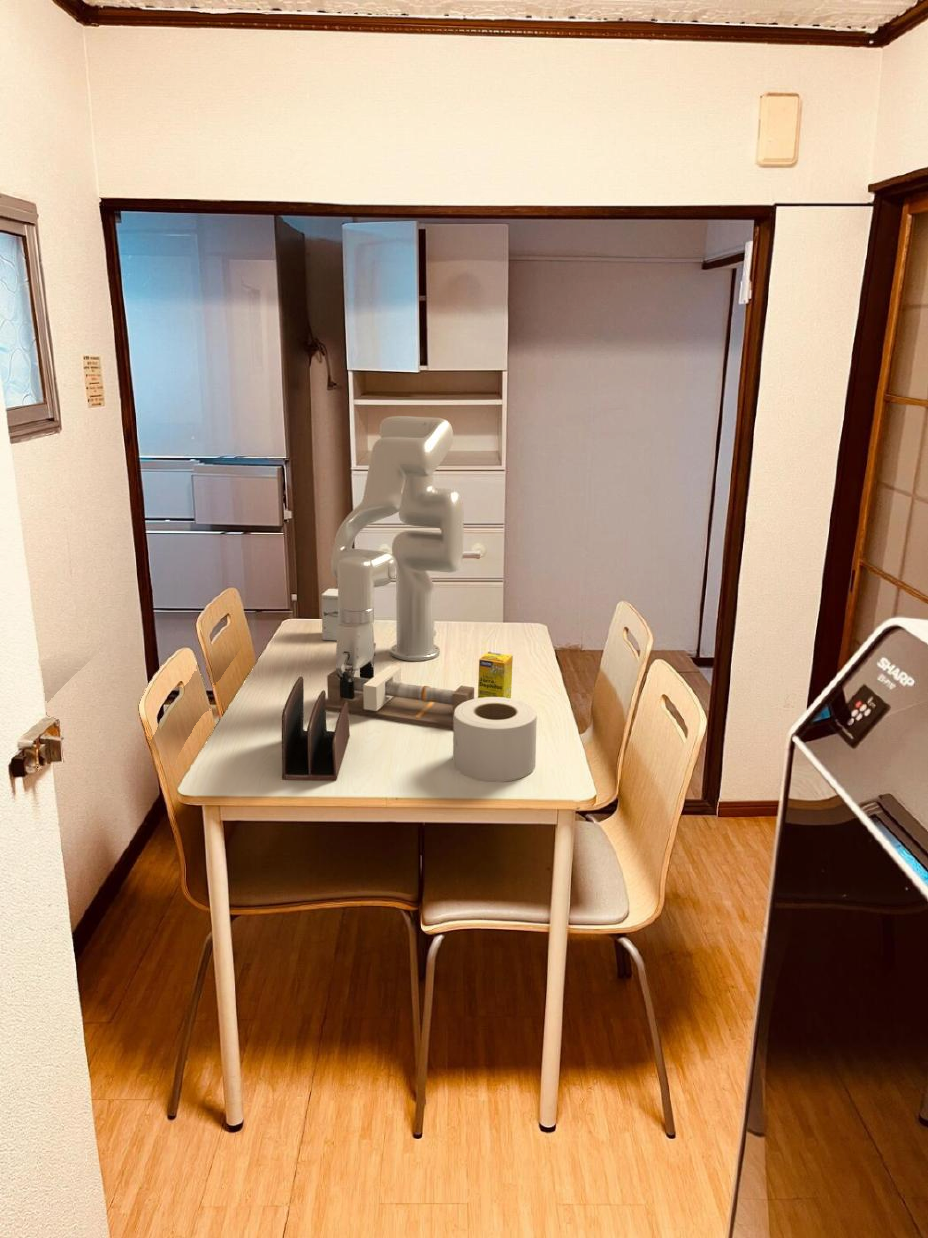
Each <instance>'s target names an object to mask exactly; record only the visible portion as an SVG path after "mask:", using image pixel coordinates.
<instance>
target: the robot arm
mask: <svg viewBox="0 0 928 1238" xmlns="http://www.w3.org/2000/svg"><path fill="white" fill-rule="evenodd" d="M379 436H380V438H379V439H377V440H376V441H375V442H374V444H373V446H372V449H371V454H370V458H369V464H368V469H367V473H366V474H367V475H366V480H365V481H366V482H365V486H364V493H363V496H362V501H361V502H360V503H359V504H358V505H357V507H355V508H354V509H353V510H351V511H350V513H349V514H347V516H346V517H345V519H343V521H342V522H341V524H340V526H339V528H338V529H337V532H336V535H335V539H334V542H333V548H332V554H331V562H330V566H331V567H330V568H331V573H332V575H333V577H334V578H335V579H336V580H337V589H338V619H339V623H340V624H339V627H338V634H337V641H336V653H335V670H336V669H337V672H338V674H337V675H338V677H339V681H340V697H341V698H347V699H354V698H355V688H354V681H352V680H353V677H355V673H356V671H358V670H359V677H360V678H367V679H372V678H373V677H374V676H375V674H374V673H375V672H374V671H375V670H374V669H375V668H374V666H375V661H374V660H375V656H376V653H375V652H376V647H377V643H376V642H375V635H374V625H373V623H374V622H375V607H374V606H375V605H374V603H375V602H374V601H375V599H374V598H375V597H374V595H375V594H374V588H379V587H383V586H387V585H389V584H390V583H391V582H392V581H393V580H394V579H395V592H396V593H395V595H396V596H395V600H396V601H395V605H396V606H395V607H396V608H395V610H396V613H395V614H396V616H395V617H396V619H395V620H396V624H395V625H396V628H395V629H396V631H395V632H396V633H395V634H396V638H395V639H396V644H394V645H393V646H392V645H391V648H390V651H389V652H390V655H391V656H392V657H394V658H396V659H399V660H403V661H410V662H411V661H412V662H416V661H417V662H420V661H421V662H423V661H429V660H432V659H435V658H436V657H438V656H439V655H440V654H441V649H440V647H439V646H438V645H436V644H435V640H434V639H435V636H436V635H437V632H436V630H435V585H434V582H433V580H432V578H431V576H430V575H429V573H428V572H436V573H438V572H439V573H454V572H456V571H458V570H459V569H460V568H461V565H462V562H463V557H464V504H463V503H464V502H463V500H462V496H461V495H460V494H459V492H458V491H456V490H454V489H451V488H438V487H435V486H434V472H436V470H437V469H438V468H439V466H440V464H441V463H443V462H442V461H443V460H444V459H445V458H446V456H447V455H448V453H449V452H450V450H451V447H452V445H453V440H454V431H453V427H452V425H451V423H450V422H449V421H448V420H447V419H445V418H441V417H430V416H429V417H427V416H424V417H423V416H413V415H412V416H408V415H405V416H404V415H403V416H402V415H396V416H389V417H385V418H384V419H383V420H382V421H381V422H380V425H379ZM397 513H398V517H399V520H400V521H401V523H403V524H404V525H407V526H411V527H420V528H422V527H423V528H433V529H435V528H436V529H440V532H432V531H423V530H422V531H420V530H405V531H401V532H400V533H398V534H396V536H395V537H394V538H393V540H392V543H391V544H392V545H391V553H392V554H391V553H389V552H388V551H383V550H373V549H372V550H371V549H366V548H365V549H363V548H353V545H354V541H355V539H356V537H358V534H359V533H360V532H361V531H362V530H363V529H364V528H366V527H367V526H369V525H372V524H373V523H376V522H378V521H380V520H383V519H385V518H388V517H390V516H393V515H395V514H397ZM345 671H350V674H349V675H348V673H347V672H345Z"/></svg>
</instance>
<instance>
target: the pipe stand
mask: <svg viewBox="0 0 928 1238" xmlns="http://www.w3.org/2000/svg"><path fill="white" fill-rule="evenodd" d="M345 672H347V673H348V675H349V674H350V671H345ZM337 674H338V672H337V669H336V668H335V669H334V670H333V671H332V672H330V673H329V674H327V675H326V678H327V679H326V680H327V683H326V684H327V685H326V686H327V700H326V711H328V712H337V713H340V711H341V709H342V706H343V704H344V702H347V703H348V715H356V716H362V717H369V718H376V719H382V720H387V721H395V722H401V723H406V724H407V723H408V724H414V725H418V726H419V725H421V726H425V727H426V726H427V727H433V728H439V729H445V730H452V731H454V720H453V716H454V711H455V709H456V707H457V706H458V705H460V704H461V703H463V702H466V701H468V700H472V699H475V687H473V686H466V685H460V686H459V687H458V688H456V690H452V689H451V690H450V689H446V688H445V689H443V688H438V687H437V688H436V687H431V686H429V685H424V686H422V685H415V684H409V683H402V682H401V683H396V682H389V681H387V682H385V695H388V696H394V697H392V698H391V699H390V700H389V701H388V702H387V703H385V704H384V705H383V706H382V707H381V708H380V709H379V710H377V711H373V710H367V709H364V695H363V685H364V684H365V683H367V682H368V681H369V680H370V679H367V678H360V676H359V677H358V676H354V677H353V680H352V681H354V688H355V698H354V699H347V698H341V697H340V681H339V677H338V675H337Z"/></svg>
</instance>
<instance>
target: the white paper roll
mask: <svg viewBox="0 0 928 1238" xmlns="http://www.w3.org/2000/svg"><path fill="white" fill-rule="evenodd" d="M537 715H538V714H537V710H536V708H535V707H534V706H532V705H531V704H530V703H527V702H525V701H522V700H519V699H516V698H512V697H511V698H504V697H484V698H478V697H477V698H474V699H472V700H468V701H466V702H463V703H461V704H460V705H458V706H457V707H456V709H455V711H454V716H453V720H454V730H453V731H452V732H453V734H452V741H453V742H452V743H453V745H452V746H453V747H452V766H453V767H454V769H455V770H456V771H458V772H459V773H460V774H461V775H463V776H465V777H468V778H470V779H473V780H478V781H483V782H492V783H493V782H497V783H498V782H501V783H502V782H503V783H504V782H510V781H515V780H519V779H522V778H524V777H526V776H528V775H530V774H531V773H532V772H533V771H534V770H535V769H536V759H537V758H536V754H537V721H538V720H537V719H538V717H537Z"/></svg>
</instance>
